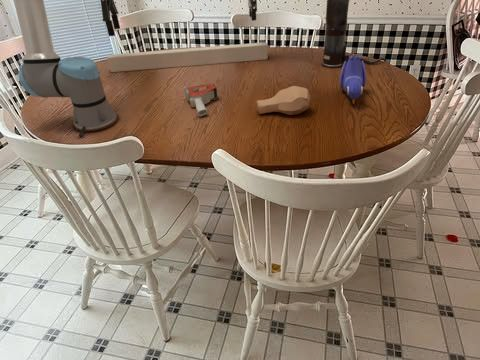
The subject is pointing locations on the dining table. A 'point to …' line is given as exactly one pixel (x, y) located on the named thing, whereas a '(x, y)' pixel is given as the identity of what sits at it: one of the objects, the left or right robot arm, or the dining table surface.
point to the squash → (286, 101)
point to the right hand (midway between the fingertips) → (252, 18)
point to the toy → (353, 77)
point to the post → (188, 57)
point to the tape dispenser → (201, 97)
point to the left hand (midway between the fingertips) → (114, 32)
